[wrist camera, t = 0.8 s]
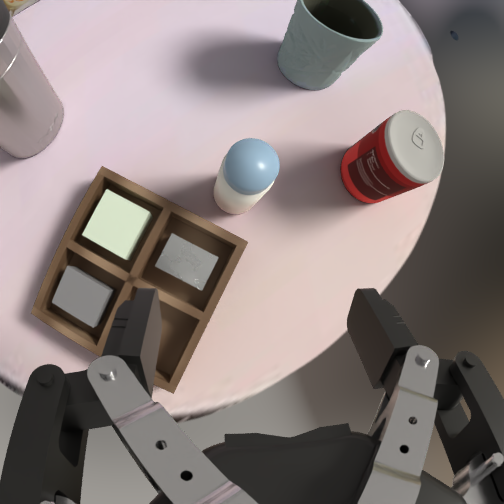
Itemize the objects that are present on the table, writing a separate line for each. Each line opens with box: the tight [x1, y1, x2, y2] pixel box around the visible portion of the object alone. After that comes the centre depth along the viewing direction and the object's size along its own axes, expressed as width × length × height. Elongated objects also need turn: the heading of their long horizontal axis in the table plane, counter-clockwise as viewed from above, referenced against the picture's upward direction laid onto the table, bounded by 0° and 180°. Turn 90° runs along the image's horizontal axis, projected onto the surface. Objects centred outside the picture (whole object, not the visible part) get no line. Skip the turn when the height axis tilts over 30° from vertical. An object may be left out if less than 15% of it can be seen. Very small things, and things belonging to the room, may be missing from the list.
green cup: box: [277, 0, 383, 90], centre depth 32 cm, size 10×10×12 cm
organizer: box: [31, 166, 248, 394], centre depth 30 cm, size 16×16×4 cm
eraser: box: [52, 266, 116, 328], centre depth 29 cm, size 5×4×3 cm
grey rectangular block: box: [155, 233, 219, 290], centre depth 31 cm, size 5×4×2 cm
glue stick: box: [213, 138, 280, 214], centre depth 30 cm, size 5×5×10 cm
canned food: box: [341, 110, 444, 203], centre depth 33 cm, size 8×8×11 cm
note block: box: [82, 189, 153, 261], centre depth 30 cm, size 5×5×3 cm
